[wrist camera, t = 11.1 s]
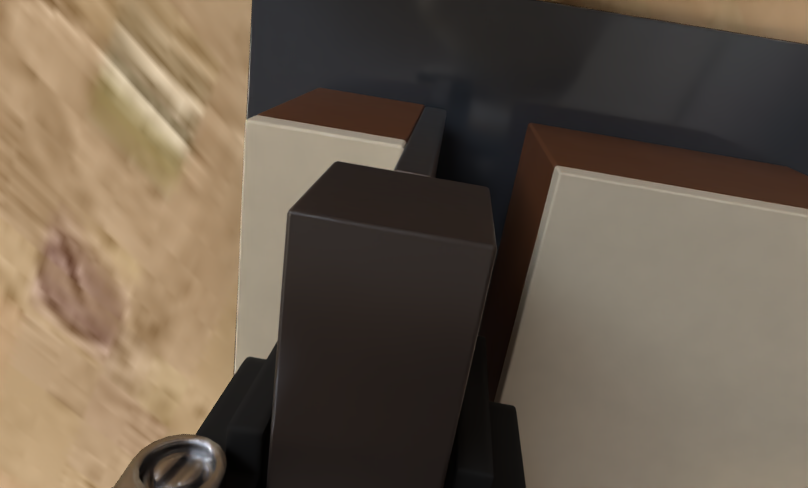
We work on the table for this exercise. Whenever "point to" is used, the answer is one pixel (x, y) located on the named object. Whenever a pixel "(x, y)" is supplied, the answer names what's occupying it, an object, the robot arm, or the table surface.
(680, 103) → the cake board
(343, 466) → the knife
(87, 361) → the table surface
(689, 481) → the cake
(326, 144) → the cake slice
